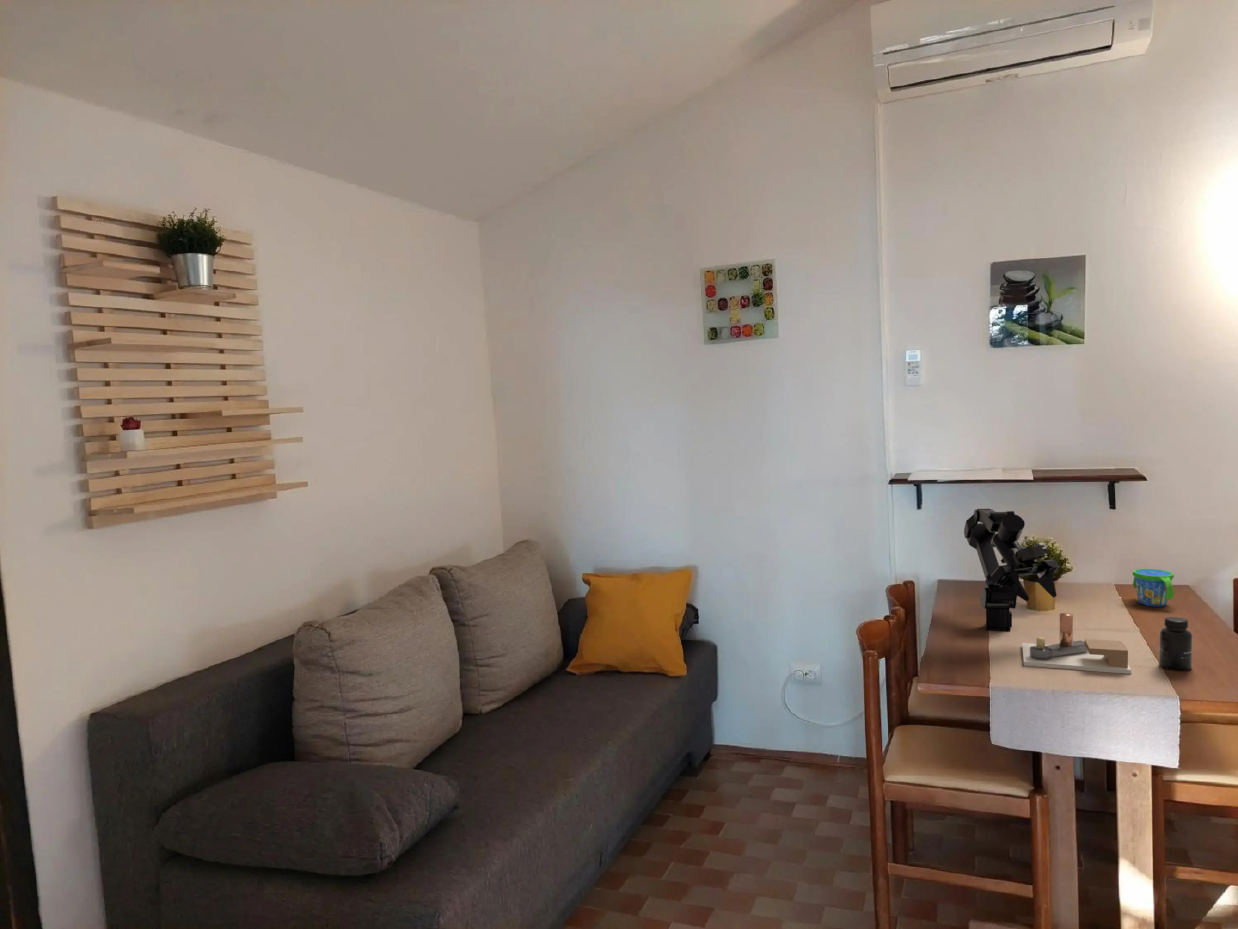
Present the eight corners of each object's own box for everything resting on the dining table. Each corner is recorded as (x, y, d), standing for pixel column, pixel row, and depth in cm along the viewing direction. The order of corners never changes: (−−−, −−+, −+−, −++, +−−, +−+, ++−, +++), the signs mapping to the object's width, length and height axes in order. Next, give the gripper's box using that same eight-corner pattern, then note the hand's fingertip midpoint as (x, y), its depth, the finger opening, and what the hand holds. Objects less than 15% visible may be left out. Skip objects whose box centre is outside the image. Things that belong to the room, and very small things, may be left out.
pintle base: (1024, 665, 220) (1023, 642, 220) (1022, 646, 235) (1022, 624, 235) (1131, 674, 211) (1131, 649, 210) (1122, 653, 226) (1122, 631, 226)
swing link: (1040, 660, 220) (1040, 621, 219) (1025, 655, 224) (1025, 616, 224) (1092, 652, 224) (1092, 614, 223) (1077, 646, 229) (1077, 609, 228)
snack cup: (1185, 610, 263) (1185, 577, 262) (1149, 611, 263) (1149, 578, 262) (1156, 597, 278) (1156, 566, 277) (1122, 598, 279) (1122, 567, 278)
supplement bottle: (1192, 673, 210) (1193, 624, 209) (1158, 669, 214) (1159, 621, 212) (1191, 664, 216) (1192, 617, 215) (1159, 661, 219) (1159, 614, 218)
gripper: (997, 536, 232) (1029, 585, 223) (1054, 530, 238) (1087, 577, 228) (977, 560, 240) (1007, 608, 231) (1032, 554, 246) (1063, 601, 236)
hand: (1041, 598), depth 231 cm, fingers open, 9 cm apart
